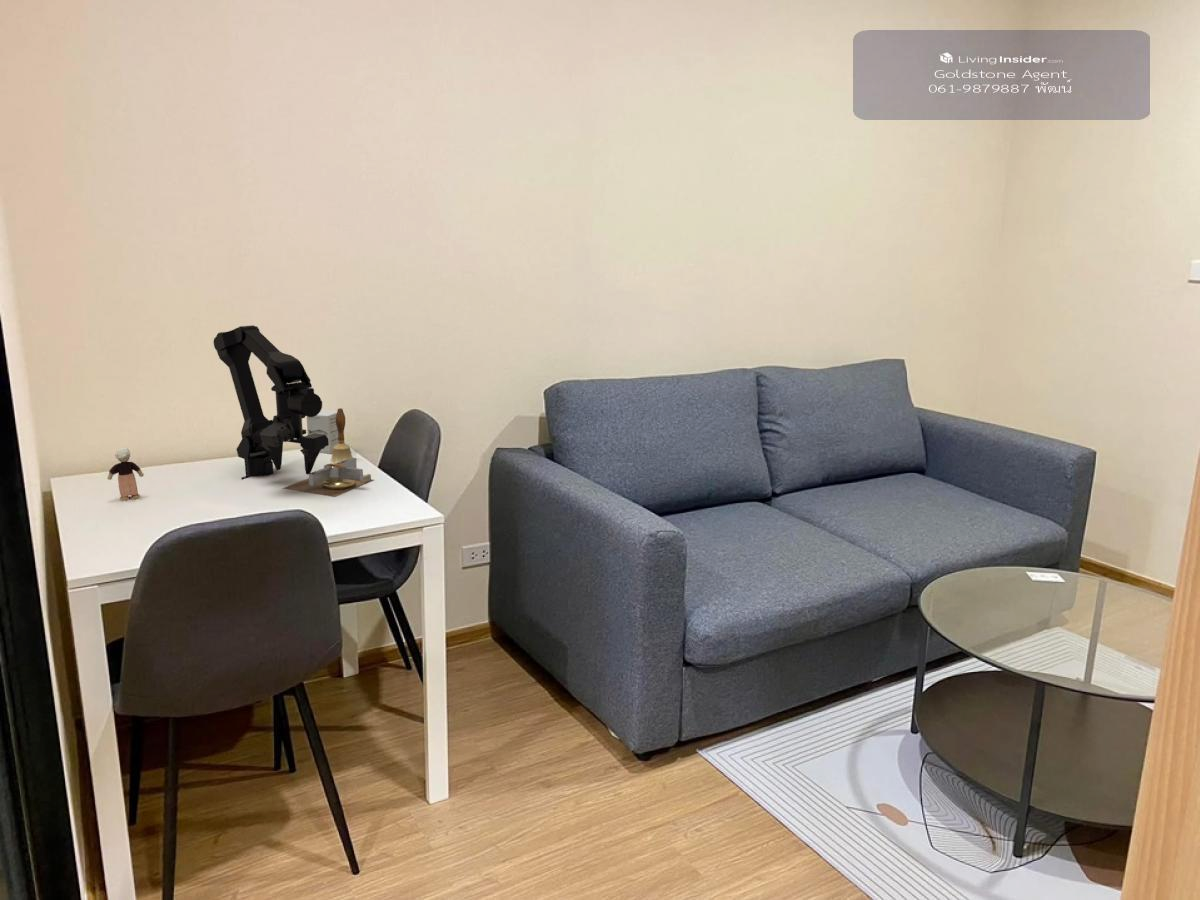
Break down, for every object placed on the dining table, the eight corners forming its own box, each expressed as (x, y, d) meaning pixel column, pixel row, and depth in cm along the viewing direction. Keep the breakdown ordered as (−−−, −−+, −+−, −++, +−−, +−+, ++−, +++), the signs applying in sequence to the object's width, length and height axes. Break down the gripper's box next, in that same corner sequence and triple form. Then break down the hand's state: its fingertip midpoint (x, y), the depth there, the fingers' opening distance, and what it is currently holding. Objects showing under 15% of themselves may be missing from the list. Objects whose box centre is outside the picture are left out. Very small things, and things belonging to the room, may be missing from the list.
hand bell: (333, 460, 260) (330, 405, 256) (362, 462, 260) (359, 406, 256) (322, 468, 252) (318, 411, 248) (351, 470, 252) (348, 412, 248)
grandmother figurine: (141, 493, 228) (136, 443, 224) (147, 497, 225) (141, 446, 222) (108, 499, 222) (101, 448, 219) (113, 503, 220) (107, 452, 217)
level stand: (282, 494, 230) (281, 482, 229) (324, 477, 244) (323, 466, 243) (335, 502, 224) (334, 490, 223) (375, 485, 238) (374, 474, 237)
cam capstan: (303, 491, 226) (302, 471, 225) (347, 473, 241) (346, 455, 240) (340, 497, 222) (339, 476, 221) (382, 479, 237) (381, 460, 236)
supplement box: (307, 456, 264) (305, 413, 260) (322, 450, 271) (319, 408, 267) (330, 459, 262) (328, 415, 259) (344, 452, 269) (342, 410, 266)
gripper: (235, 413, 223) (240, 475, 227) (297, 421, 216) (301, 485, 220) (267, 404, 233) (272, 464, 237) (328, 412, 226) (331, 473, 230)
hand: (293, 472), depth 230 cm, fingers open, 9 cm apart
